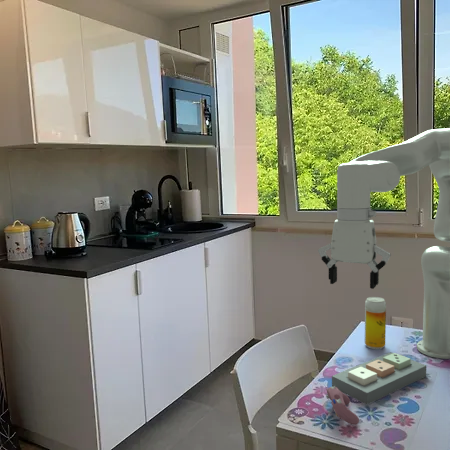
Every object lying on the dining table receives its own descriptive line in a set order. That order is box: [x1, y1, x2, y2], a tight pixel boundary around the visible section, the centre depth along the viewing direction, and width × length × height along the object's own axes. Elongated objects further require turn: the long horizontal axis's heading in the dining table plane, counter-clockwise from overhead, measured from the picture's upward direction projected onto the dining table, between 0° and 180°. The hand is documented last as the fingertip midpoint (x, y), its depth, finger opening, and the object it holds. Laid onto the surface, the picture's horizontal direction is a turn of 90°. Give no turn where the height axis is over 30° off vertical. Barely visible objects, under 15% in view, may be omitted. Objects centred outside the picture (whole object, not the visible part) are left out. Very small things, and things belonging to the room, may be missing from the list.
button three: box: [383, 352, 412, 370], centre depth 124 cm, size 5×5×3 cm
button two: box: [366, 360, 394, 378], centre depth 120 cm, size 5×5×3 cm
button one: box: [348, 367, 377, 386], centre depth 116 cm, size 5×5×3 cm
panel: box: [331, 352, 427, 406], centre depth 120 cm, size 24×11×3 cm, turn 124°
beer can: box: [364, 296, 387, 350], centre depth 142 cm, size 6×6×15 cm
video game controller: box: [325, 386, 360, 426], centre depth 105 cm, size 10×5×7 cm, turn 178°
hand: (352, 285), depth 112 cm, fingers open, 9 cm apart
